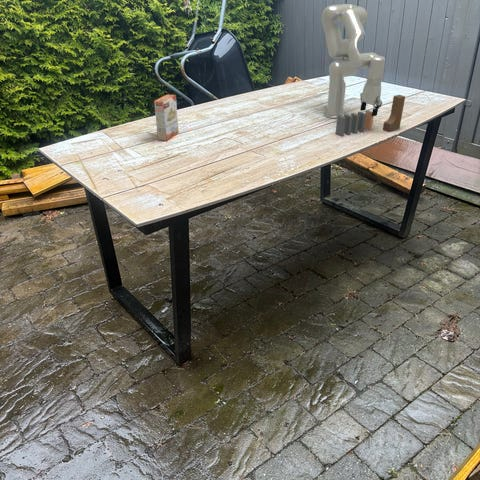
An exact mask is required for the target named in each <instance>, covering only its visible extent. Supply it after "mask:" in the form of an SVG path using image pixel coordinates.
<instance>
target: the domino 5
mask: <svg viewBox="0 0 480 480" xmlns="http://www.w3.org/2000/svg"><path fill="white" fill-rule="evenodd" d="M372 111H373V110H368V109H366V110H365V112H364V113H365V114H366V119H365V126H364V130H366V131H368V132H371V131H372V129H373V128H372V127H373V122H374V116H372Z"/></svg>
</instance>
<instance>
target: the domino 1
mask: <svg viewBox="0 0 480 480" xmlns="http://www.w3.org/2000/svg"><path fill="white" fill-rule="evenodd" d="M345 119H346V118H345V117H343V116H341V115H337V118H336V128H335V134H336V135H337V136H339V137H344V135H345V133H344V128H345Z"/></svg>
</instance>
